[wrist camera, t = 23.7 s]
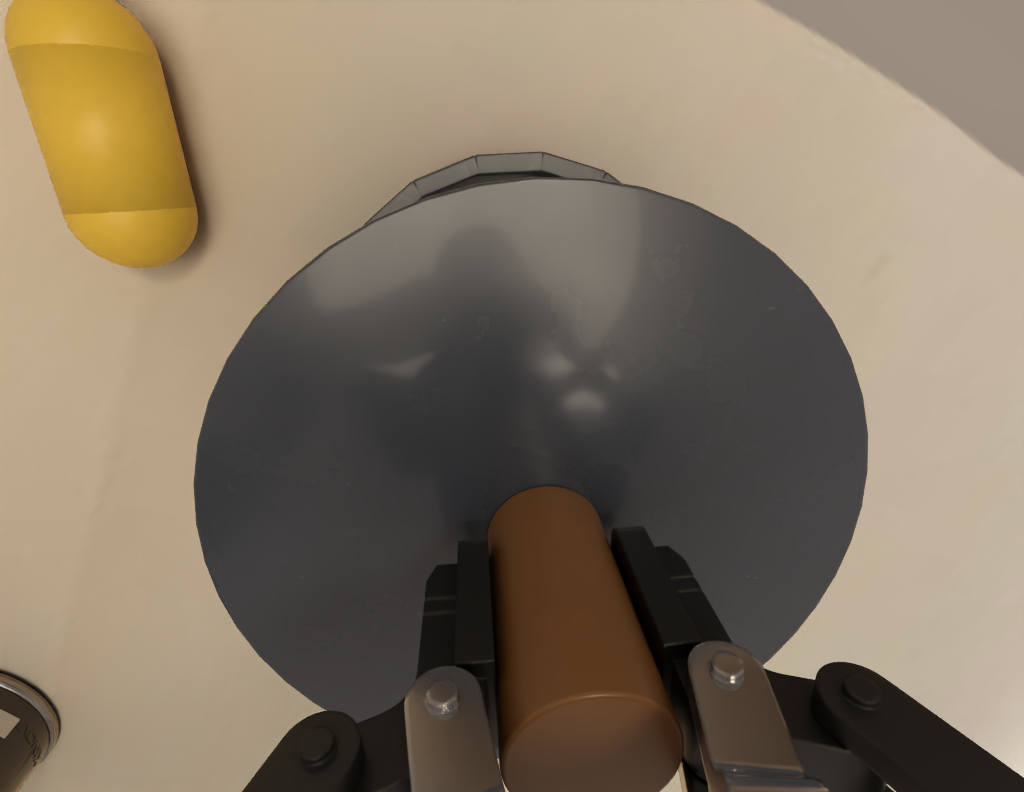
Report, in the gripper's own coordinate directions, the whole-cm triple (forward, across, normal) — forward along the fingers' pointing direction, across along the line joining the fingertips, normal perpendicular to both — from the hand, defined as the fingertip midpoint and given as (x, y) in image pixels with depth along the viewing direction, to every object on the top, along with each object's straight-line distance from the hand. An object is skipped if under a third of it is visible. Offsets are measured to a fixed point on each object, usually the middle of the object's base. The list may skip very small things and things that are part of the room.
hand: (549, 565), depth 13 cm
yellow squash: (+17, +16, -11) cm, 26 cm away
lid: (+2, 0, 0) cm, 2 cm away
